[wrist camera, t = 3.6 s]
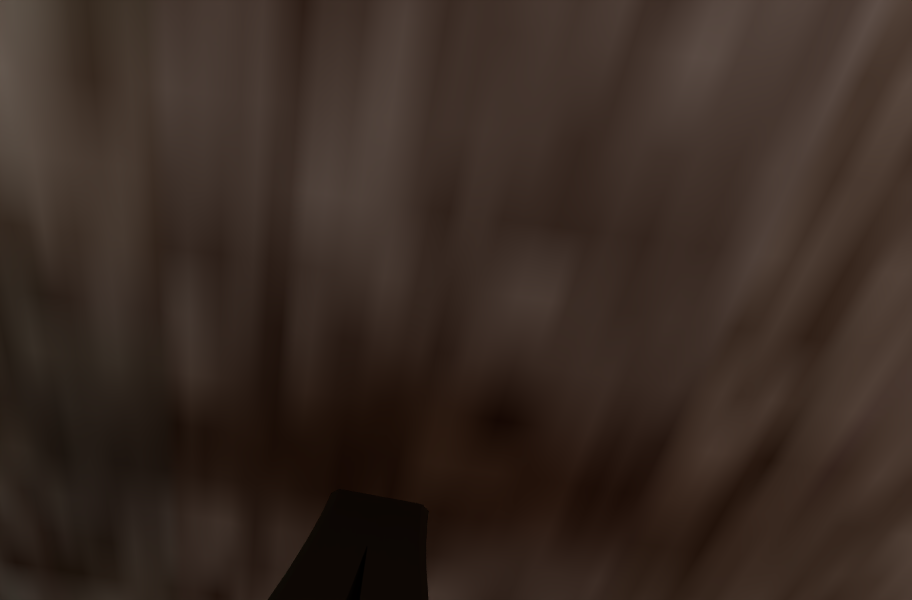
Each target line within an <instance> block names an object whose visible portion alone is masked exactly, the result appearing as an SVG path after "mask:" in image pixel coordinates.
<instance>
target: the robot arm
mask: <svg viewBox="0 0 912 600" xmlns="http://www.w3.org/2000/svg"><path fill="white" fill-rule="evenodd" d="M428 512H429V511H428V510H427V509H426V508H425V507H424V506H423V505H422V504H417V503H411V502H406V501H401V500H395V499H390V498H384V497H379V496H374V495H368V494H363V493H358V492H352V491H347V490H341V489H339V490H337V491H335V492H333V493H331V495H330V498H329V500H328V502H327V504H326V506H325V508H324V510H323V512H322V514H321V516H320V518H319V519H318V521H317V523H316V525H315V527H314V529H313V530H312V532H311V534H310V535H309V537H308V539H307V541H306V542H305V544H304V546H303V547H302V549H301V550H300V552H299V554H298V555H297V557H296V558H295V560H294V561H293V563H292V565H291V566H290V568H289V569H288V571H287V572H286V574H285V575H284V577H283V578H282V580H281V581H280V583H279V584H278V586H277V587H276V588H275V590H274V591H273V593H272V594H271V596H270V597H269V599H268V600H428V587H427V571H426V534H427V520H428Z"/></svg>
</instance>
